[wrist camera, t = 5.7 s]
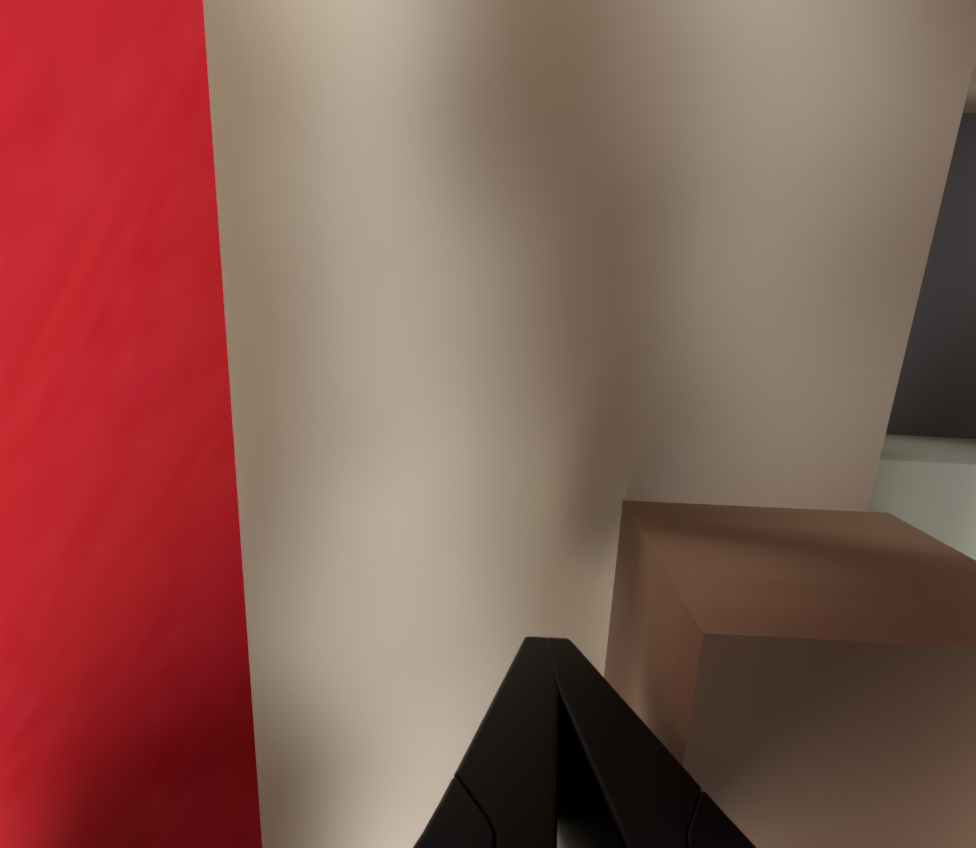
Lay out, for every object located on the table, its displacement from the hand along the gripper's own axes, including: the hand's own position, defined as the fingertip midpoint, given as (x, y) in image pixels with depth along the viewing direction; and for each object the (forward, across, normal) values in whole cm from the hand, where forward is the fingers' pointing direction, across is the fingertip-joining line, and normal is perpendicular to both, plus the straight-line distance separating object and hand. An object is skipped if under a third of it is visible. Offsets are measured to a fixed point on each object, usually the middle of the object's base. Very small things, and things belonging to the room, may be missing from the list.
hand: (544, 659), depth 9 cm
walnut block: (+2, -4, 0) cm, 4 cm away
